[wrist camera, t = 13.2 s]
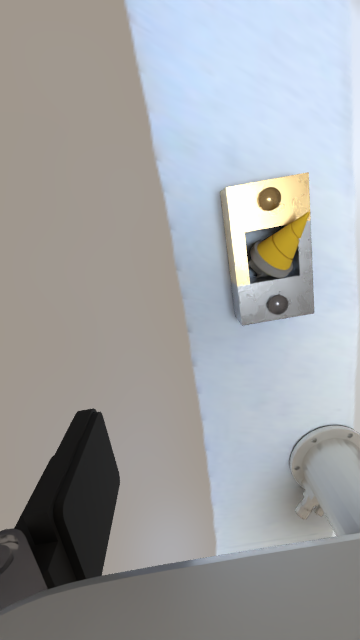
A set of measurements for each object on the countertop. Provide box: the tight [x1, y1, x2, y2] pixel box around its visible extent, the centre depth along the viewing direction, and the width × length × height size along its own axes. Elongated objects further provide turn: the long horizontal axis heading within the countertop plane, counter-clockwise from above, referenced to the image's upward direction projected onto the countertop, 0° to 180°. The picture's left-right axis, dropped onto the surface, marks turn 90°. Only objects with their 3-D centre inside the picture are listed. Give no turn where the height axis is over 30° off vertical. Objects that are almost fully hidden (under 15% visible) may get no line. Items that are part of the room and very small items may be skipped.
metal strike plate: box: [220, 173, 314, 326], centre depth 36 cm, size 16×9×5 cm, turn 10°
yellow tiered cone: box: [248, 211, 310, 278], centre depth 35 cm, size 5×5×10 cm
